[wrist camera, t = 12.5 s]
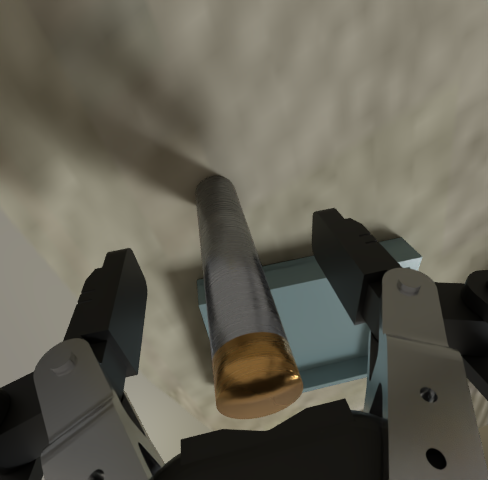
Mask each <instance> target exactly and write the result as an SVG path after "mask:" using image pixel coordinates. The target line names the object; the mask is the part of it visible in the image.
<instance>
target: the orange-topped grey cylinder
mask: <svg viewBox="0 0 488 480" xmlns="http://www.w3.org/2000/svg"><path fill="white" fill-rule="evenodd" d="M195 195H196V206H197V216H198V226H199V236H200V246H201V256H202V266H203V276H204V286H205V296H206V307H207V317H208V327H209V337H210V347H211V357H212V367H213V377H214V387H215V397H216V406H217V409H218V411H219V412H220V413H221V414H223V415H225V416H227V417H230V418H235V419H252V418H259V417H263V416H267V415H270V414H273V413H276V412H278V411H280V410H283V409H284V408H286V407H288V406H289V405H291V404H292V403H294V402H295V401H296V400H297V399H298V398H299V397H300V395H301V394H302V391H303V382H302V379H301V376H300V374H299V371H298V368H297V365H296V362H295V359H294V356H293V354H292V351H291V348H290V345H289V342H288V339H287V336H286V334H285V331H284V328H283V325H282V322H281V319H280V316H279V313H278V311H277V308H276V305H275V302H274V299H273V296H272V293H271V291H270V288H269V285H268V282H267V279H266V276H265V273H264V271H263V268H262V265H261V262H260V259H259V256H258V253H257V251H256V248H255V245H254V242H253V239H252V236H251V233H250V230H249V228H248V225H247V222H246V219H245V216H244V213H243V210H242V208H241V205H240V202H239V199H238V196H237V193H236V190H235V188H234V185H233V184H232V183H231V182H230V181H229V180H228V179H226V178H224V177H221V176H211V177H208V178H206V179H204V180H203V181H202V182H200V184H199V185H198V187H197V189H196V194H195Z"/></svg>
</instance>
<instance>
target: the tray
mask: <svg viewBox="0 0 488 480" xmlns="http://www.w3.org/2000/svg"><path fill="white" fill-rule="evenodd" d="M379 243H380V244H381V245H382V246H383V247H384V248H385V249H386V250H387V251H388V253H389V254H390V255H391V256H392V257H393V258H394V259H395V260H396V261H397V262H398V263H399V264H400V265H401V266H402V268H410V269H414V270H417V271H418V269H419V266H420V263H421V260H422V256H421V255H420V254H419V253H418V252H417V251H415V250H414V249H413V248H412V247H411V246H410V245H409V244H408V243H407V242H406V241H405V240H404V239H403V238H402V237H401V238H396V239H392V240H387V241H382V242H379ZM262 268H263V271H264V273H265V276H266V279H267V282H268V285H269V288H270V291H271V293H272V296H273V299H274V302H275V305H276V308H277V311H278V313H279V316H280V319H281V322H282V325H283V328H284V331H285V334H286V336H287V339H288V342H289V345H290V348H291V351H292V354H293V356H294V359H295V362H296V365H297V368H298V371H299V374H300V376H301V379H302V382H303V391H302V393H303V392H307V391H312V390H316V389H320V388H324V387H328V386H332V385H336V384H340V383H344V382H349V381H353V380H357V379H361V378H365V377H367V366H368V341H369V332H370V328H369V327H368V325H367V324H366V323H363V324H359V325H354V324H353V322H352V320H351V319H350V317H349V315H348V313H347V312H346V310H345V308H344V307H343V305H342V303H341V302H340V300H339V298H338V297H337V295H336V293H335V291H334V290H333V288H332V286H331V285H330V283H329V281H328V280H327V278H326V276H325V274H324V273H323V271H322V269H321V268H320V266H319V264H318V263H317V261H316V259H315V257H314V256H310V257H305V258H300V259H296V260H291V261H286V262H281V263H276V264H272V265H267V266H262ZM197 288H198V303H199V308H200V311H201V314H202V317H203V320H204V324H205V327H206V330H207V333H208V336H209V327H208V317H207V307H206V296H205V286H204V279H200V280H197ZM209 339H210V337H209Z"/></svg>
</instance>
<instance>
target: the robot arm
mask: <svg viewBox="0 0 488 480" xmlns="http://www.w3.org/2000/svg"><path fill="white" fill-rule="evenodd" d="M312 250H313V254H314V257H315V259H316V261H317V263H318V264H319V266H320V268H321V269H322V271H323V273H324V274H325V276H326V278H327V280H328V281H329V283H330V285H331V286H332V288H333V290H334V291H335V293H336V295H337V297H338V298H339V300H340V302H341V303H342V305H343V307H344V308H345V310H346V312H347V313H348V315H349V317H350V319H351V320H352V322H353V324H354V325H359V324H363V323H366V324H367V325H368V327H369V328H370V332H369V341H368V366H367V388H366V397H365V403H364V412H361V411H355V410H350V408H349V406H348V403H347V401H346V399H341V400H337V401H333V402H329V403H325V404H321V405H317V406H313V407H309V408H306V409H304V410H302V411H301V412H299V413H297V414H296V415H294V416H292V417H291V418H289V419H287V420H286V421H284V422H282V423H281V424H279V425H277V426H276V427H274V428H272V429H270V430H268V431H251V430H230V429H221V430H217V431H213V432H209V433H205V434H201V435H197V436H193V437H189V438H185V439H181V453H180V454H178V455H177V456H175V457H174V458H173V459H171V460H170V461H168V462H167V463H166V464H165V463H164V461H163V460H162V458H161V456H160V455H159V453H158V451H157V450H156V448H155V447H154V445H153V444H152V442H151V440H150V438H149V436H148V434H147V433H146V431H145V429H144V427H143V425H142V423H141V421H140V419H139V417H138V415H137V413H136V411H135V409H134V407H133V406H132V404H131V402H130V400H129V398H128V396H127V394H126V392H125V391H124V383H125V377H129V376H134V375H137V374H138V368H139V360H140V351H141V343H142V334H143V326H144V318H145V309H146V301H147V284H146V280H145V278H144V275H143V273H142V271H141V269H140V266H139V264H138V262H137V260H136V258H135V255H134V253H133V251H132V250H131V249H130V248H127V249H122V250H117V251H112V252H108V253H107V254H106V257H105V260H104V264H103V267H102V268H97V269H95V270H94V271H93V272H92V273H91V275H90V276H89V277H88V278H87V279H86V281H85V283H84V286H83V289H82V291H81V293H82V294H80V297H79V300H78V304H77V305H76V308H75V310H74V313H73V316H72V318H71V321H70V324H69V327H68V329H67V332H66V335H65V337H64V340H63V342H61V343H59V344H57V345H56V346H54V347H53V348H51V349H50V350H49V351H48V352H47V353H45V354H44V356H43V357H42V358H41V359H40V361H39V362H38V364H37V365H36V368H35V370H34V372H32V373H30V374H28V375H26V376H24V377H22V378H20V379H18V380H16V381H14V382H12V383H10V384H8V385H6V386H3V387H2V388H0V480H41V479H42V477H43V474H44V478H45V480H488V471H487V466H486V462H485V457H484V453H483V448H482V444H481V440H480V435H479V431H478V426H477V421H476V417H475V412H474V408H473V404H472V399H471V395H470V390H469V386H468V381H467V378H468V379H469V380H470V382H471V383H472V384H473V385H474V386H475V387H476V388H477V389H478V390H479V392H480V393H481V394H482V395H483V396H484V397H485V398H486V399H487V401H488V270H479V271H475V272H473V273H471V274H470V275H469V276H468V278H467V280H466V282H465V284H462V283H437V282H433V280H432V279H431V278H430V277H428V276H427V275H425V274H424V273H422V272H420V271H417V270H414V269H410V268H402V266H401V265H400V264H399V263H398V262H397V261H396V260H395V259H394V258H393V257H392V256H391V255H390V254H389V253H388V251H387V250H386V249H385V248H384V247H383V246H382V245H381V244H380V243H379V242H377V240H376V239H375V237H374V236H373V235H371V234H370V232H369V231H368V230H367V229H366V228H365V227H364V226H363V225H362V224H361V223H359V222H357V221H355V220H353V219H351V218H348V219H344V218H343V217H342V215H341V214H340V213H339V212H338V211H337V210H336V209H335V208H331V209H326V210H321V211H316V212H314V213H313V223H312Z"/></svg>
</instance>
